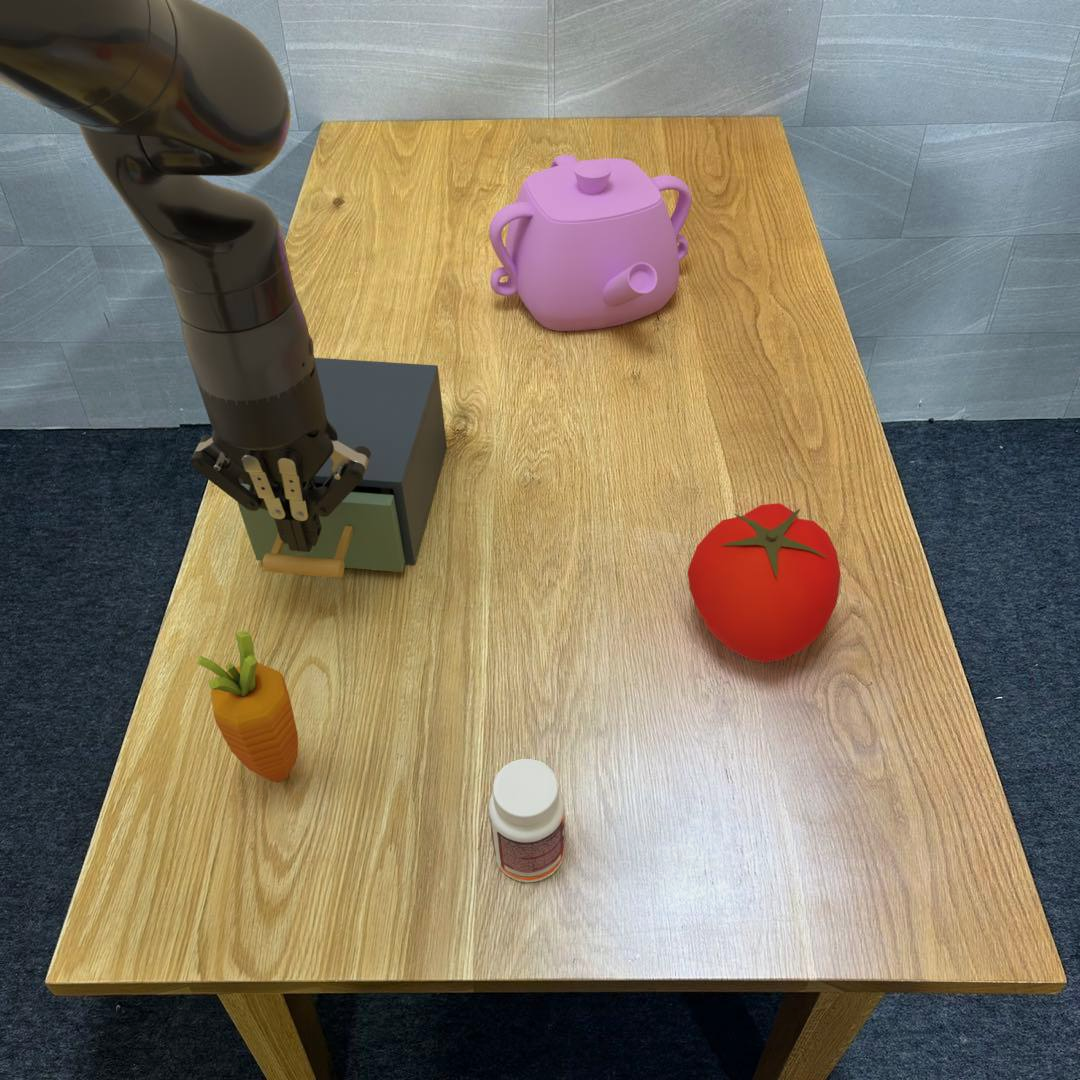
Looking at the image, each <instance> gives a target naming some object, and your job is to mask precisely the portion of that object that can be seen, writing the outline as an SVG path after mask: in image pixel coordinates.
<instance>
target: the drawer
mask: <svg viewBox="0 0 1080 1080" xmlns="http://www.w3.org/2000/svg"><path fill="white" fill-rule="evenodd" d="M315 484H316V488H318V487H322V486H323V484H324V483H315ZM241 485H243V486H244V487H245V488H247V489H248V490H249V488H250V486H249V485H248V484H241ZM237 505H238V509H239V511H240V514H241V517H242V520H243V524H244V526H245V529H246V532H247V536H248V538H249V539H248V540H249V541H250V545H251V549H252V552H253V553H254V557H255V560H256V561H261V562H262V570H263V572H265V573H275V574H277V573H278V574H288V575H289V574H290V575H299V576H300V575H301V576H312V577H325V578H336V579H337V578H338V579H341V578H343V576H344V574H345V569H346V568H347V569H358V570H371V571H382V572H383V571H384V572H395V573H403V571H404V567H405V565H406V564H405V558H404V552H403V546H402V538H401V532H400V527H399V521H398V515H397V509H396V503H395V498H394V492H393V489H391V488H378V487H364V486H356V487H355V488H354V489H353V490H352V491H351V492H350V493H349V495H348V496H347V497H346V498H345V499H344V500H343V501H342V502H341V503H340V504H339V505H338V506H337V507H336V508H335V510H334V511H333V512H332V513H331V514H330V515H329V516H327V517H321V516H319V520H320V523H321V526H322V529H321V533H320V535H319V538H318V541H317V543H316V546H312V548H311V551H310V552H302V551H291V550H290V549H289V546H288V544H284V543H283V541H282V540H281V539H280V536H279V533H278V529H277V526H276V523H275V519H274V518H273V517H272V516H271V515H270V514H269V512H268V511H267V510H265V509H261V508H259V509H258V510H257V511H250V510H248V509H246V508H245V507H244V506H242V505H241V504H240V503H238V502H237Z"/></svg>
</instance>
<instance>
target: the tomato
mask: <svg viewBox="0 0 1080 1080" xmlns="http://www.w3.org/2000/svg"><path fill="white" fill-rule="evenodd" d="M800 512H801V508H798V509H797V510H796V511H793V510H792V509H790V508H789V507H787V506H785V505H784V504H782V503H781V502H778V503H777V502H776V503H767V504H761V505H759V506H757V507H755V508H754V509H751V510H749V511H747V512H746V513H745V514H743V515H739V514H737V513H734V516H735V517H731V518H726V519H722V520H721V521H719V522H718V523H717V524H716V525H715V526H714V527H712V529H711V530H710V531H708V532H707V534H706V535H705V536H704V538H703V539H701V541H700V542H698V544H697V545H696V547H695V550H694V553H693V555H692V558H691V561H690V562H689V566H688V569H687V579H688V587H689V591H690V594H691V596H692V599H693V602H694V605H695V607H696V609H697V611H698V612H699V614H700V616H701V618H702V619H703V621H704V623H705V625H706V627H707V628H708V630H709V632H710V633H711V634H712V635H713V636H714V638H716V639H717V640H718V641H719V642H721V644H723V646H725V647H726V648H727V649H729V650H730V651H733V652H735V653H736V654H739V655H740V656H742V657H744V658H746V659H748V660H750V661H754V662H755V661H756V662H760V663H771V662H776V661H782V660H783V661H784V660H785V659H787V658H789V657H791V656H793V655H795V654H796V653H798V652H801V651H802V650H804V649H806V648H807V647H809V646H810V645H812V644H813V643H814V641H816V639H817V638H819V636H821V634H823V632H824V631H825V629H826V627H827V624H828V622H829V621H830V619H831V616H832V614H833V612H834V610H835V607H836V605H837V602H838V598H839V591H840V581H841V568H840V563H839V558H838V552H837V549H836V547H835V545H834V543H833V542H832V539H831V537H830V534H829V533H828V531H826V530H824V528H822V526H820V525H819V524H818V523H817V522H816V521H815V520H810V519H803V518H798V514H799V513H800Z"/></svg>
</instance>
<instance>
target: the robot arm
mask: <svg viewBox="0 0 1080 1080" xmlns="http://www.w3.org/2000/svg"><path fill="white" fill-rule="evenodd" d="M282 73H283V72H282V71H281V68H280V67H279V65H278V62H277V61H276V60H275V58H274V56H273V55H272V53H271V52H270V50H269V49H268V48H267V47H266V45H265V44H264V43H263V41H261V40H260V38H259V37H257V35H256V34H254V33H253V31H251V30H250V29H249V28H247V27H245V25H243V24H241V23H240V22H238V21H237V20H235V19H233V18H232V17H229V16H228V15H226V14H223V13H221V12H219V11H217V10H215V9H213V8H211V7H209V6H206V5H204V4H202V3H201V2H198V1H195V0H0V83H1V84H2V85H4V86H6V87H8V88H9V89H11V90H14V91H15V92H17V93H19V94H21V95H23V96H24V97H26V98H28V99H30V100H32V101H34V102H35V103H37V104H39V105H41V106H42V107H45V108H46V109H49V110H50V111H52V112H54V113H56V114H58V115H60V116H61V117H63V118H65V119H67V120H69V121H70V122H72V123H75V124H77V126H78V128H79V131H80V133H81V136H82V138H83V140H84V142H85V144H86V146H87V148H88V150H89V152H90V154H91V155H92V157H93V159H94V161H95V162H96V164H97V165H98V167H99V169H100V170H101V171H102V173H103V174H104V176H105V178H106V179H107V180H108V182H109V183H110V184H111V186H112V187H113V189H114V190H115V191H116V193H117V195H118V196H119V198H120V199H121V200H122V202H123V203H124V205H125V206H126V208H127V209H128V210H129V213H131V215H132V217H133V219H134V220H135V221H136V223H137V224H138V226H139V227H140V229H141V230H142V233H144V235H145V236H146V238H147V239H148V241H149V242H150V244H151V245H152V247H153V248H154V250H155V251H156V253H157V255H158V256H159V258H160V261H161V264H162V267H163V270H164V274H165V276H166V279H167V283H168V286H169V289H170V292H171V295H172V298H173V301H174V304H175V307H176V310H177V312H178V316H179V320H180V327H181V334H182V339H183V342H184V347H185V351H186V354H187V357H188V360H189V364H190V366H191V369H192V371H193V376H194V378H195V381H196V384H197V387H198V390H199V392H200V393H199V394H200V395H201V399H202V402H203V405H204V409H205V412H206V414H207V417H208V420H209V424H210V425H211V426H210V427H211V428H212V433H211V434H204V435H203V436H202V437H201V439H200V440H199V443H198V444H197V446H196V448H195V450H194V451H193V454H192V456H191V458H190V460H189V465H190V466H191V467H192V468H193V469H194V470H195V471H197V472H198V473H199V474H201V475H202V476H203V477H205V478H206V479H207V480H208V481H210V482H211V483H212V484H214V485H215V486H216V487H217V488H219V489H220V490H221V491H223V492H224V493H225V494H226V495H228V496H229V497H230V498H232V499H233V500H234V501H236V502H237V504H238V503H240V504H241V505H242V506H244V507H245V508H246V509H248V510H250V511H257V510H258V509H259V508H261V509H265V510H267V511H268V512H269V514H270V515H271V516H272V517H273V518H274V519H275V523H276V526H277V529H278V533H279V536H280V539H281V540H282V541H283V543H284V544H288V546H289V549H290V550H291V551H302V552H310V551H311V548H312V546H316V543H317V541H318V538H319V535H320V533H321V529H322V526H321V523H320V520H319V516H321V517H327V516H329V515H330V514H331V513H332V512H333V511H334V510H335V508H336V507H337V506H338V505H339V504H340V503H341V502H342V501H343V500H344V499H345V498H346V497H347V496H348V495H349V493H350V492H351V491H352V490H353V489H354V488H355V487H356V486H357V485H358V484H359V483H360V482H361V481H362V479H363V476H364V473H365V471H366V468H367V465H368V462H369V459H370V456H371V452H370V450H369V449H368V448H366V447H364V446H357V447H356V448H355V449H354V450H352V449H351V448H349V447H347V446H346V445H344V444H342V443H341V442H339V441H337V440H338V435H337V432H336V430H335V428H334V427H333V426H332V425H331V424H330V423H329V421H328V420H327V417H326V412H325V404H324V399H323V394H322V390H321V385H320V381H319V376H318V372H317V367H316V363H315V358H316V357H315V354H314V352H315V351H314V349H315V348H314V341H313V337H311V335H310V333H309V332H310V331H309V327H308V323H307V320H306V316H305V313H304V311H303V307H302V306H301V303H300V300H299V298H298V295H297V292H296V288H295V285H294V280H293V275H292V272H291V267H290V263H289V258H288V253H287V248H286V243H285V239H284V236H283V230H282V228H281V224H280V221H279V219H278V217H277V215H276V214H275V212H274V210H273V209H272V208H271V206H270V205H269V204H268V203H266V202H265V201H263V200H262V199H260V198H259V197H257V196H255V195H252V194H248V193H246V192H242V191H240V190H235V189H232V188H228V187H225V186H222V185H218V184H216V183H213V182H211V181H209V180H207V179H206V178H204V176H205V177H209V176H210V177H211V176H212V177H239V176H240V177H241V176H248V175H252V174H254V173H258V172H260V171H262V170H263V169H265V168H266V167H267V166H269V165H271V164H272V162H274V160H275V159H276V158H277V157H278V156H279V155H280V153H281V152H282V149H283V148H284V146H285V144H286V141H287V138H288V135H289V130H290V126H291V103H290V96H289V90H288V87H287V84H286V81H285V78H284V76H283V74H282ZM329 458H331V459H332V461H333V465H332V471H333V473H332V475H331V476H330V477H329V478H328V479H327V480H326V481H325V482H324V484H323V486H322V487H318V488H316V484H315V475H316V474H317V473H318V471H319V470H320V469H321V468H322V466H323V465H324V464H325V462H326V461H327V460H328V459H329ZM239 478H240V479H242V480H243V481H244V482H245V483H247V484H248V485H249V486H250V488H249V490H248V489H247V488H245V487H244V486H243V485H241V484H240V482H239Z"/></svg>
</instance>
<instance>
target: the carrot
mask: <svg viewBox="0 0 1080 1080" xmlns="http://www.w3.org/2000/svg"><path fill="white" fill-rule="evenodd" d="M235 637H236V638H235V639H236V644H237V647H238V653H239V666H235V665H234V664H233V662H229V663H227V664H226V665H225V668H222V667H221V666H220V665H219V664H218V663H216V662H215V661H213V660H211V659H209V658H207V657H205V656H203V655H199V657H198V658H197V664H198V665H199V666H201V667H203V668H204V669H207V670H209V671H211V672H212V673H214V675H217V677H213V678H211V679H209V680H208V686H209V688H210V696H211V704H212V710H213V718H214V721H215V724H216V725H217V727H218V729H219V732H220V734H221V736H222V737H223V739H224V740H225V742H226V745H227V746H228V748H229V750H230V751H231V752H232V754H233V755H234V756H235V757H236V759H238V761H239V762H240V763H241V764H242V765H244V766H245V767H246V769H248V771H250V772H252V773H254V774H256V775H257V776H259V777H261V778H263V779H266V780H268V781H269V782H271V783H272V782H273V783H281V782H285V781H286V780H287V778H288V777H289V776H290V774H291V772H292V771H293V770H294V767H295V766H296V763H297V759H298V756H299V738H298V737H299V736H298V728H297V724H296V719H295V715H294V710H293V706H292V701H291V698H290V694H289V693H290V692H289V690H288V687H287V683H286V680H285V677H284V674H282V673H281V672H280V671H279V670H277V669H274V668H272V667H270V666H268V665H265V664H262V663H260V662H258V659H257V657H256V656H255V655H256V654H255V648H254V643H253V638H252V635H251V633H250V632H249V631H243V630H241V631H238V632H236V633H235ZM225 669H226V670H225Z"/></svg>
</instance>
